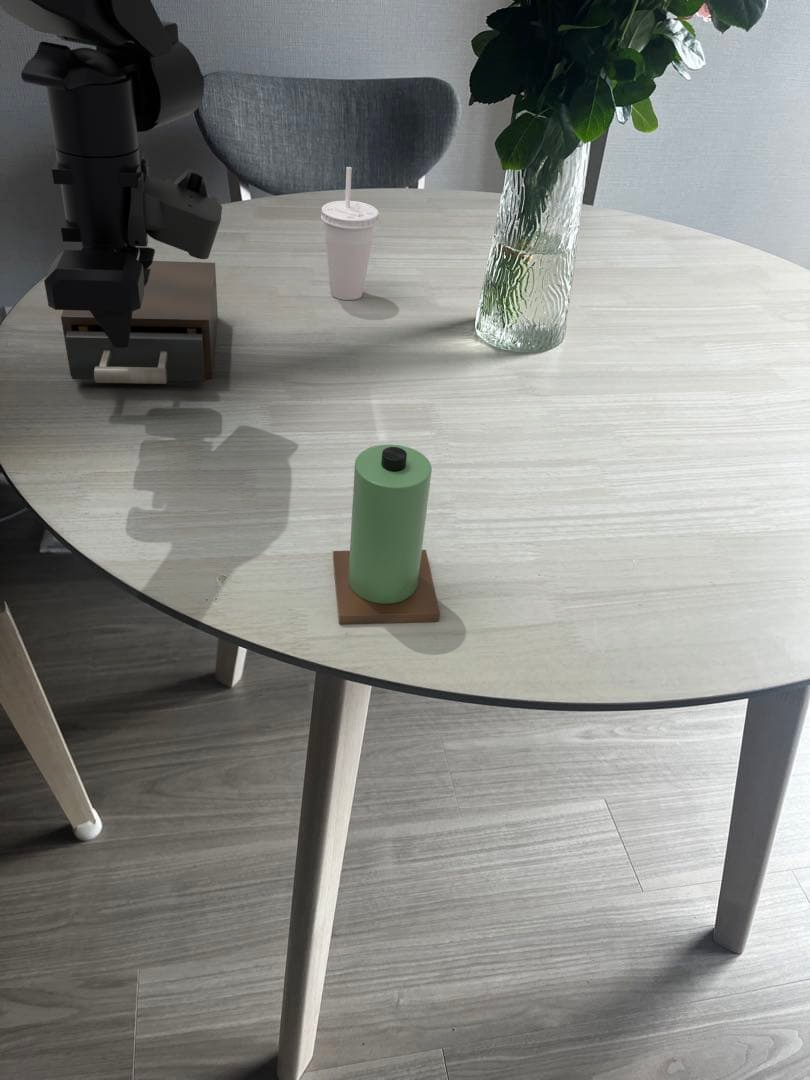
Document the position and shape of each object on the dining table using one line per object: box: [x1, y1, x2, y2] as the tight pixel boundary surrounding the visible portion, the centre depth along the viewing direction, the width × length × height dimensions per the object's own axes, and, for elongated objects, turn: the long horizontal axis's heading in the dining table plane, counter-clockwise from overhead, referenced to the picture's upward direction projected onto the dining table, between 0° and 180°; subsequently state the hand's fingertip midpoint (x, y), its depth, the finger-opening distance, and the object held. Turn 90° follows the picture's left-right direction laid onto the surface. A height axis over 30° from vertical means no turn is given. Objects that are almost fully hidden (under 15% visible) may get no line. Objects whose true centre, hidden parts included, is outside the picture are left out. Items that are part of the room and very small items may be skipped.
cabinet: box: [60, 260, 219, 380], centre depth 89 cm, size 14×13×6 cm
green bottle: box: [348, 444, 433, 604], centre depth 61 cm, size 5×5×11 cm
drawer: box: [65, 325, 206, 385], centre depth 85 cm, size 17×12×4 cm
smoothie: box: [320, 166, 380, 301], centre depth 100 cm, size 6×6×14 cm
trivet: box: [332, 549, 441, 625], centre depth 65 cm, size 7×7×1 cm
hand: (121, 345), depth 74 cm, fingers closed
